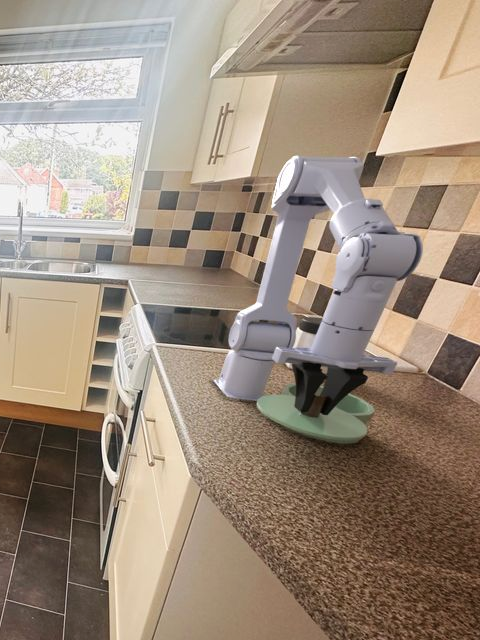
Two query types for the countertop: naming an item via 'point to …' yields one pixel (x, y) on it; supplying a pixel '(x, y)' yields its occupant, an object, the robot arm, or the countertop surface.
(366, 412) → the tin
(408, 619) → the countertop surface
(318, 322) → the jar
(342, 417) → the lid
